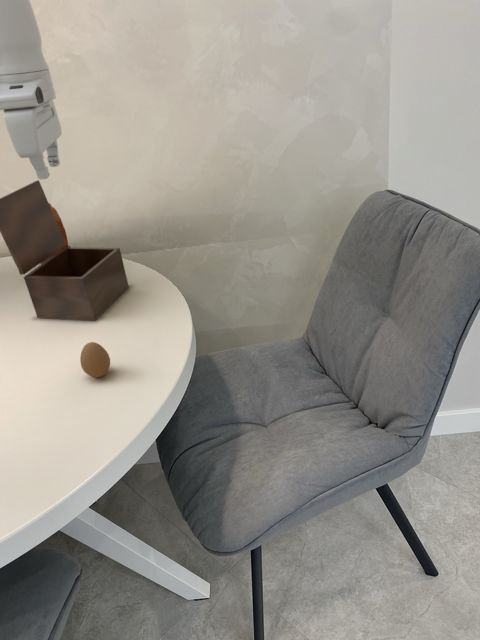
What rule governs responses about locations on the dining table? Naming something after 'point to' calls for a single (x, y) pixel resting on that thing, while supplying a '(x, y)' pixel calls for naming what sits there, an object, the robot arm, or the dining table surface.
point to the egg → (94, 360)
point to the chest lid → (29, 227)
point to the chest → (77, 283)
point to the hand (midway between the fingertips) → (49, 171)
